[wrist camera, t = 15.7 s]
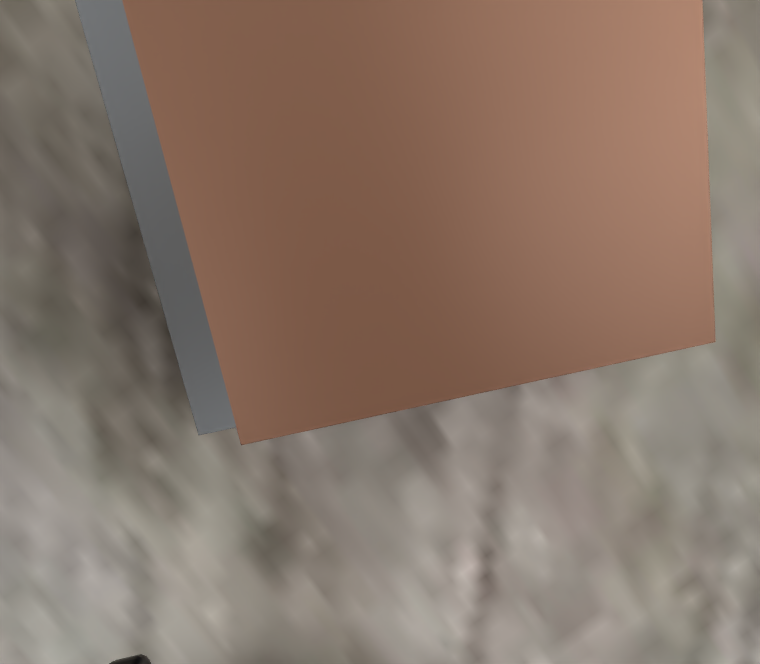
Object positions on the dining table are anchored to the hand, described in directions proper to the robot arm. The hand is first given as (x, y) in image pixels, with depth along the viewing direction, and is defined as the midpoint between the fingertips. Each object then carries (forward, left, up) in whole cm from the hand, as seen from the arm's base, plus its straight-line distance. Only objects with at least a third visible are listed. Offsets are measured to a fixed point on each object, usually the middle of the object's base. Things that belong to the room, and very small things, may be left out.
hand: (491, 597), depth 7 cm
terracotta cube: (+6, 0, -4) cm, 7 cm away
